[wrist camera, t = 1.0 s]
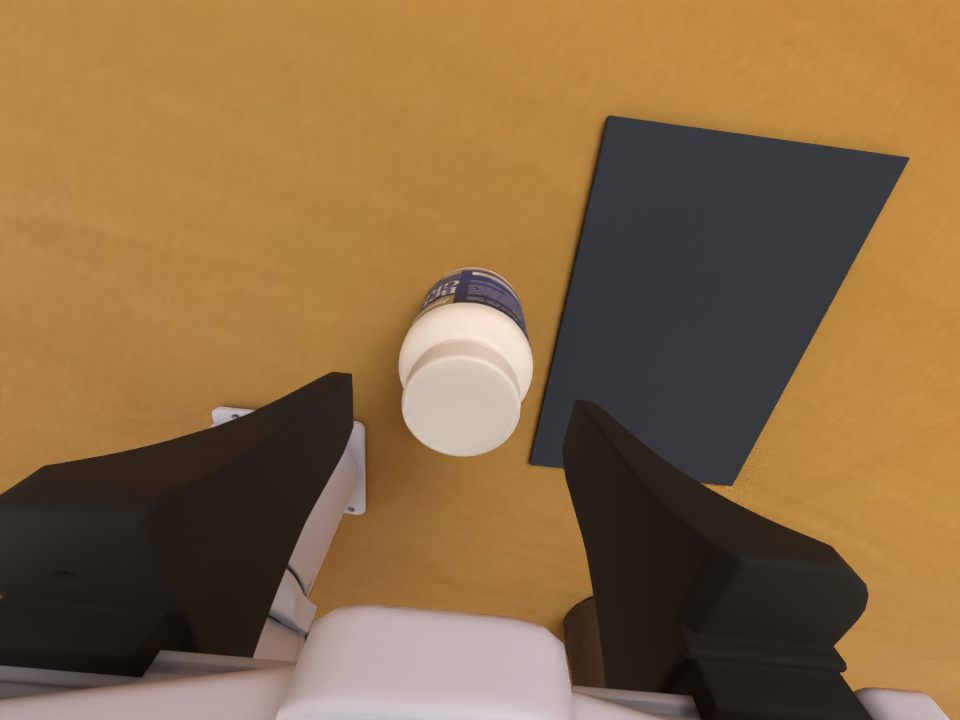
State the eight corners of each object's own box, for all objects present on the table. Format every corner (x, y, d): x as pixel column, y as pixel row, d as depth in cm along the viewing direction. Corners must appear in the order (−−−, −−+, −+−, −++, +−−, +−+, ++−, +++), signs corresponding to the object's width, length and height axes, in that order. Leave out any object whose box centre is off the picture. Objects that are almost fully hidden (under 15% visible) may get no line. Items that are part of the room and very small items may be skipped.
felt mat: (529, 461, 26) (529, 464, 26) (607, 116, 17) (609, 115, 17) (729, 483, 26) (732, 486, 26) (904, 157, 18) (910, 157, 17)
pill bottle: (451, 245, 20) (423, 302, 11) (539, 295, 21) (577, 384, 12) (408, 330, 22) (354, 434, 13) (489, 371, 23) (491, 494, 14)
